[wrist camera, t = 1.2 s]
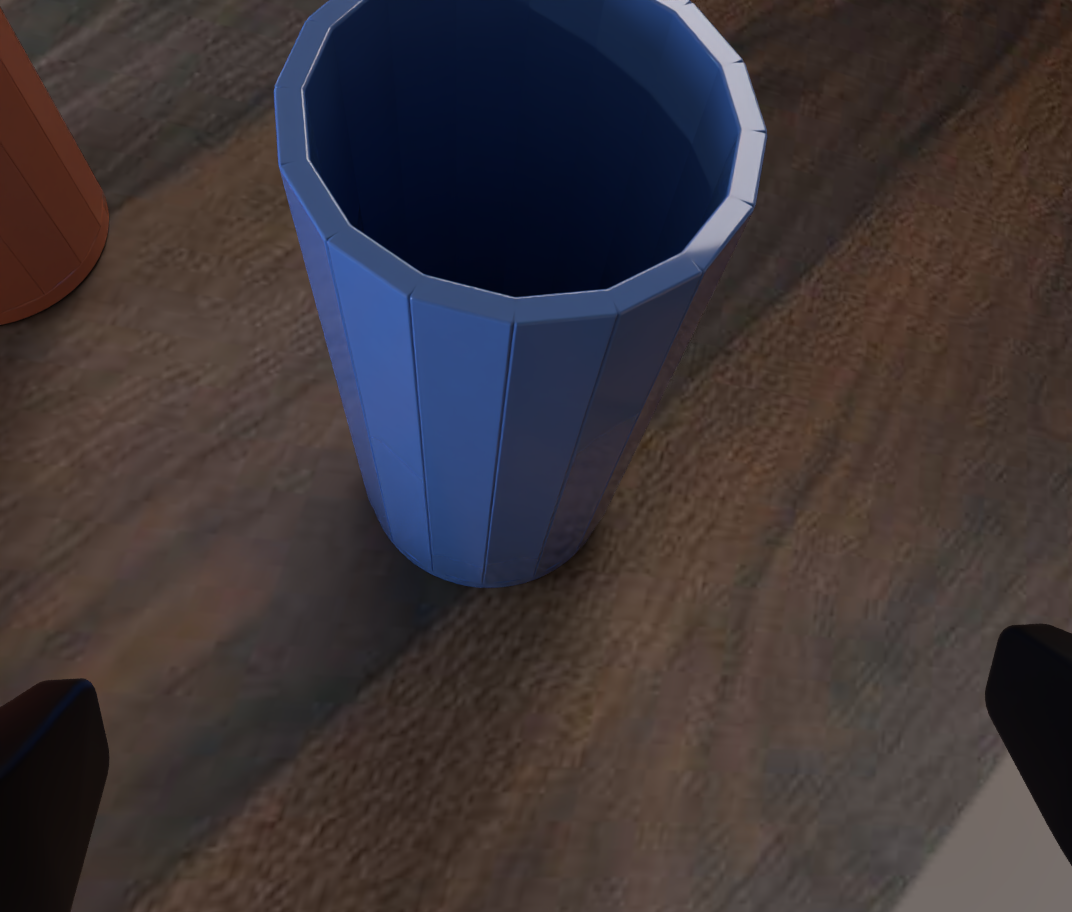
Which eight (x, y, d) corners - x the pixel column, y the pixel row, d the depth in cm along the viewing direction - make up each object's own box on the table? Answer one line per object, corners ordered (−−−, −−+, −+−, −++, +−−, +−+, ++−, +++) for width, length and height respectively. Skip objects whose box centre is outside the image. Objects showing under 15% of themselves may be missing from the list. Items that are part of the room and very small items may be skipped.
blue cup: (629, 570, 23) (822, 295, 11) (379, 604, 22) (289, 346, 10) (585, 353, 25) (703, -70, 13) (358, 376, 24) (263, -55, 12)
